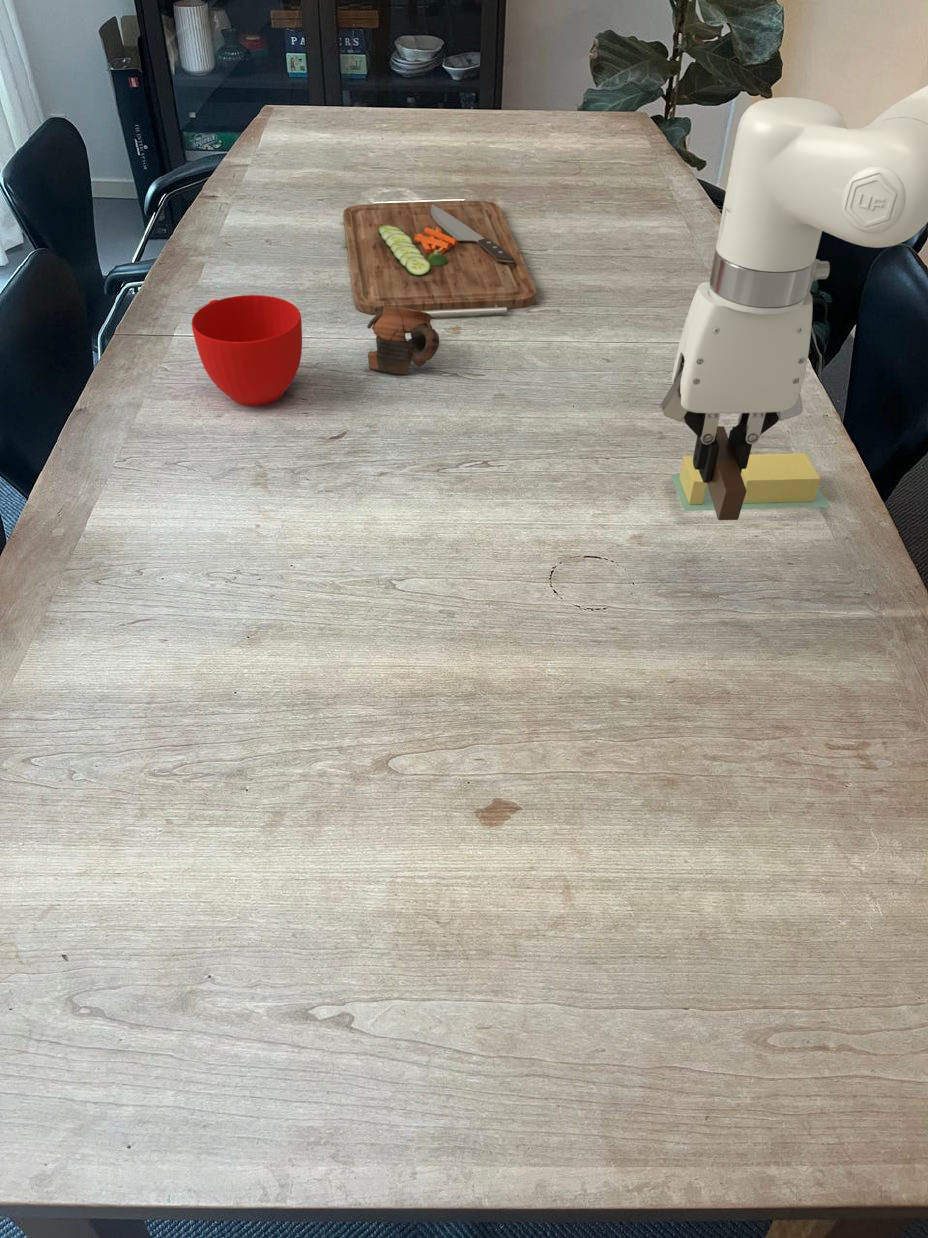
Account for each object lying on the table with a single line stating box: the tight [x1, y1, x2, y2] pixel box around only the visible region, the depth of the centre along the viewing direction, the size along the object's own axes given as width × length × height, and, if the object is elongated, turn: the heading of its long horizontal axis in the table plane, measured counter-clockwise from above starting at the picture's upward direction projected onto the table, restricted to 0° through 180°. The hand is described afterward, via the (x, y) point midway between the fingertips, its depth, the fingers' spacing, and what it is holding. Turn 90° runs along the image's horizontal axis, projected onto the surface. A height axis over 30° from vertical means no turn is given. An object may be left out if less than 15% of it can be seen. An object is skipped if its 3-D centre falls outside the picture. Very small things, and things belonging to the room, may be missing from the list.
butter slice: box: [679, 455, 707, 504], centre depth 108 cm, size 2×5×3 cm, turn 3°
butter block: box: [741, 452, 821, 503], centre depth 109 cm, size 8×5×3 cm, turn 94°
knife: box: [707, 425, 746, 521], centre depth 93 cm, size 2×19×3 cm, turn 2°
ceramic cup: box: [191, 294, 303, 407], centre depth 124 cm, size 13×17×10 cm
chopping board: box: [342, 197, 537, 317], centre depth 158 cm, size 45×27×3 cm, turn 8°
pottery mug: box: [366, 306, 440, 375], centre depth 131 cm, size 12×10×8 cm
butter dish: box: [669, 473, 831, 512], centre depth 110 cm, size 16×7×1 cm, turn 94°
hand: (717, 473), depth 90 cm, fingers closed on knife, 1 cm apart
